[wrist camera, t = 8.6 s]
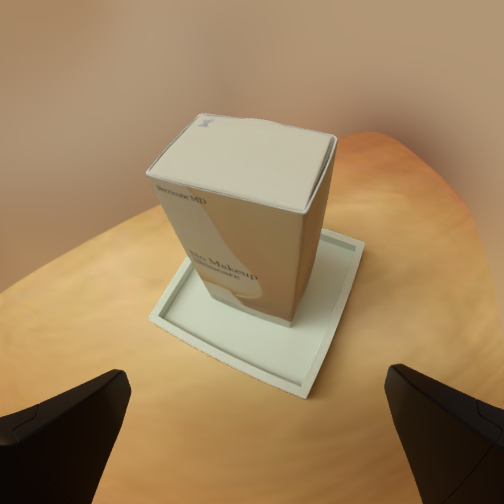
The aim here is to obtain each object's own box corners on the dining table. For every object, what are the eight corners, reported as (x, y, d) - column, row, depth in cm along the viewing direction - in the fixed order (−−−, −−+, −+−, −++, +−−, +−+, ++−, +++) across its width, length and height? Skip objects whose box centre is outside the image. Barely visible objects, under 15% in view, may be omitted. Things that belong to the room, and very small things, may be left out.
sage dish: (303, 399, 16) (305, 399, 15) (156, 325, 20) (147, 319, 18) (360, 253, 21) (365, 242, 20) (230, 209, 25) (227, 197, 23)
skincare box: (210, 299, 20) (133, 173, 9) (235, 250, 22) (194, 110, 11) (295, 332, 18) (308, 214, 7) (315, 276, 20) (339, 130, 9)
